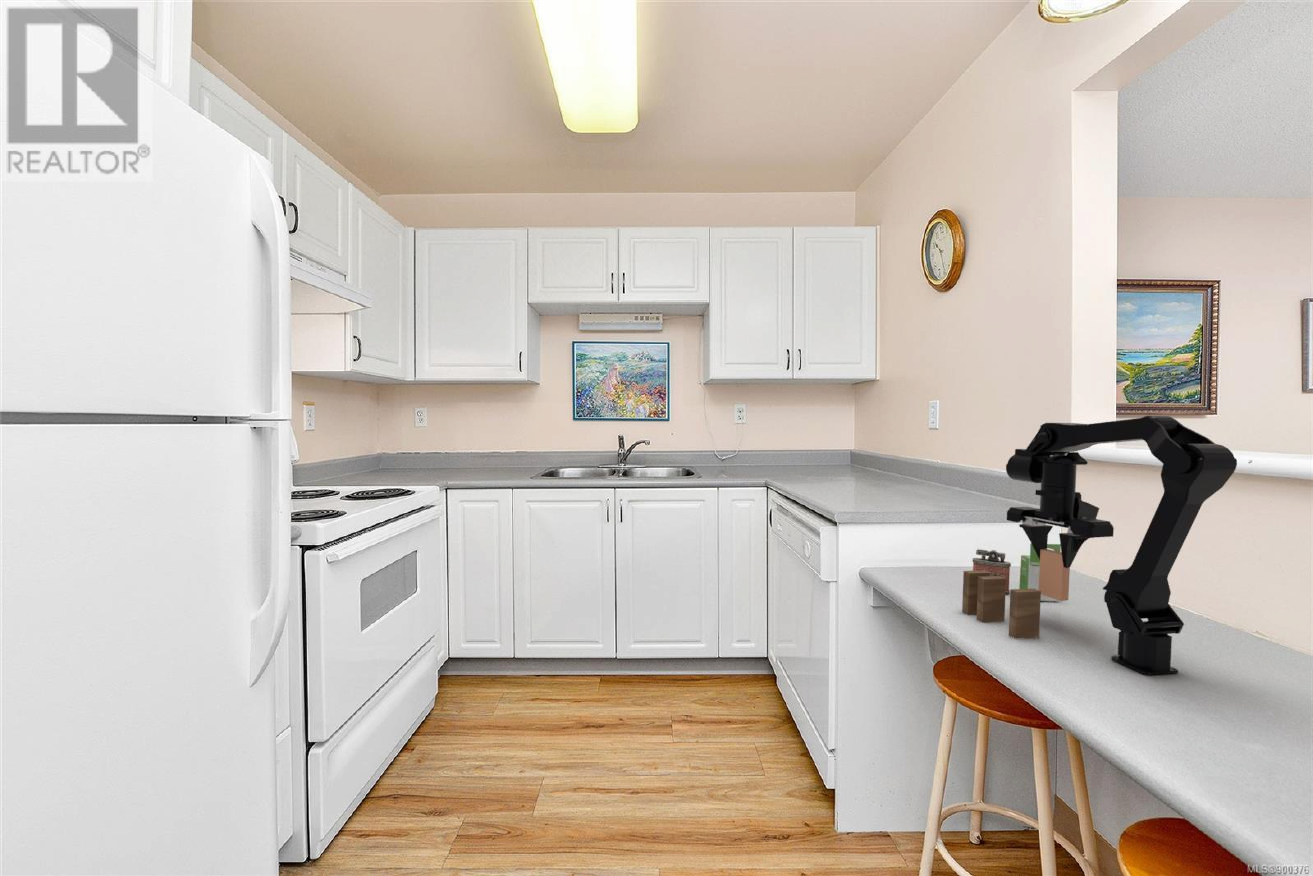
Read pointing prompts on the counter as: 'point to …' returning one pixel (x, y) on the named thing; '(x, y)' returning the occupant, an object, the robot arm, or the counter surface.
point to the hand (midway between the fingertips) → (1054, 564)
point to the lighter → (993, 565)
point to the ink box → (1034, 570)
